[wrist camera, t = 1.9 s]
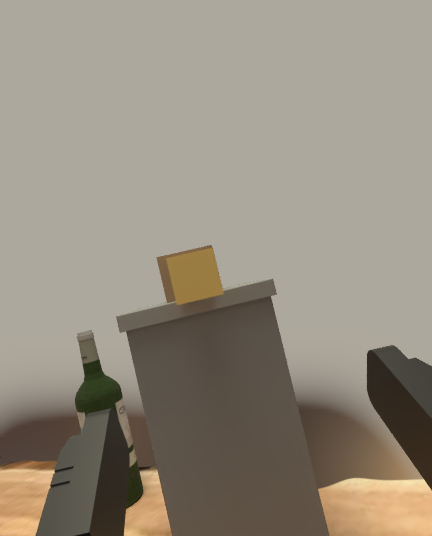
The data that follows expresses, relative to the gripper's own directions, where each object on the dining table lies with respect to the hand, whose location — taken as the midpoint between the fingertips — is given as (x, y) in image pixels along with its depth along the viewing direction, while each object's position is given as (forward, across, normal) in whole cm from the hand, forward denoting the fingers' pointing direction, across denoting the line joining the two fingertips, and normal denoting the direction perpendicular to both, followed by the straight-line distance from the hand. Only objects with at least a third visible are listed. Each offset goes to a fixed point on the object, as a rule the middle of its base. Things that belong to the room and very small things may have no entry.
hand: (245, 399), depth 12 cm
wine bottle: (+36, +22, +52) cm, 67 cm away
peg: (+22, +1, +8) cm, 24 cm away
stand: (+15, +1, +40) cm, 43 cm away
